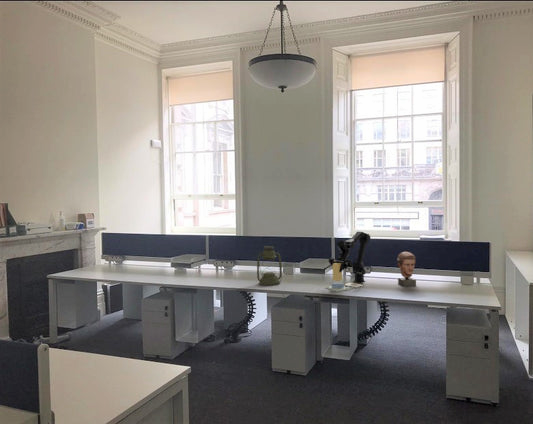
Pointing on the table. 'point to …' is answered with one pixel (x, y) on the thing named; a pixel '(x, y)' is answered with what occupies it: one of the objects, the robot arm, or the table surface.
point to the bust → (406, 268)
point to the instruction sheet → (353, 284)
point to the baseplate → (337, 289)
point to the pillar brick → (337, 272)
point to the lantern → (269, 277)
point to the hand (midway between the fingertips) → (336, 271)
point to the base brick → (337, 285)
